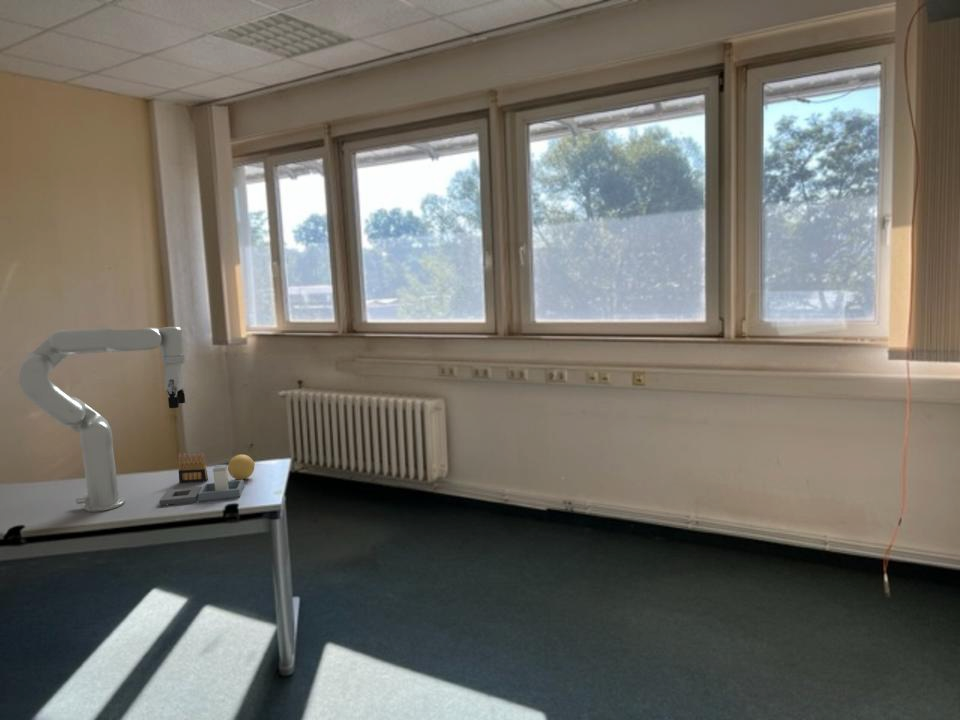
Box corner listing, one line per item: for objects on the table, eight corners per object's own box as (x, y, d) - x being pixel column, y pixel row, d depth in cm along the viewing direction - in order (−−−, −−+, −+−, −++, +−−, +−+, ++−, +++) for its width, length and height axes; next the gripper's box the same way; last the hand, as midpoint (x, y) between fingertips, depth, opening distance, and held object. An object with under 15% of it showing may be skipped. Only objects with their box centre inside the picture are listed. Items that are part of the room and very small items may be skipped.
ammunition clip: (208, 480, 260) (205, 451, 258) (206, 481, 258) (203, 452, 256) (181, 481, 260) (178, 452, 258) (179, 483, 258) (176, 453, 256)
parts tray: (198, 501, 234) (198, 493, 234) (205, 491, 246) (204, 483, 245) (240, 497, 237) (239, 489, 237) (244, 487, 249) (243, 479, 248)
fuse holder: (159, 506, 231) (159, 500, 231) (168, 495, 243) (167, 490, 243) (195, 502, 234) (195, 496, 234) (202, 491, 246) (201, 486, 245)
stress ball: (250, 484, 255) (264, 463, 261) (231, 470, 250) (246, 448, 255) (236, 484, 261) (250, 463, 267) (218, 470, 256) (232, 449, 262)
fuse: (215, 495, 239) (212, 468, 238) (217, 491, 243) (214, 465, 242) (227, 494, 240) (224, 467, 239) (229, 490, 244) (226, 464, 243)
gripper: (168, 358, 250) (172, 402, 252) (155, 363, 233) (160, 410, 235) (189, 357, 251) (193, 400, 253) (178, 362, 234) (182, 409, 237)
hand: (177, 405), depth 244 cm, fingers open, 9 cm apart
